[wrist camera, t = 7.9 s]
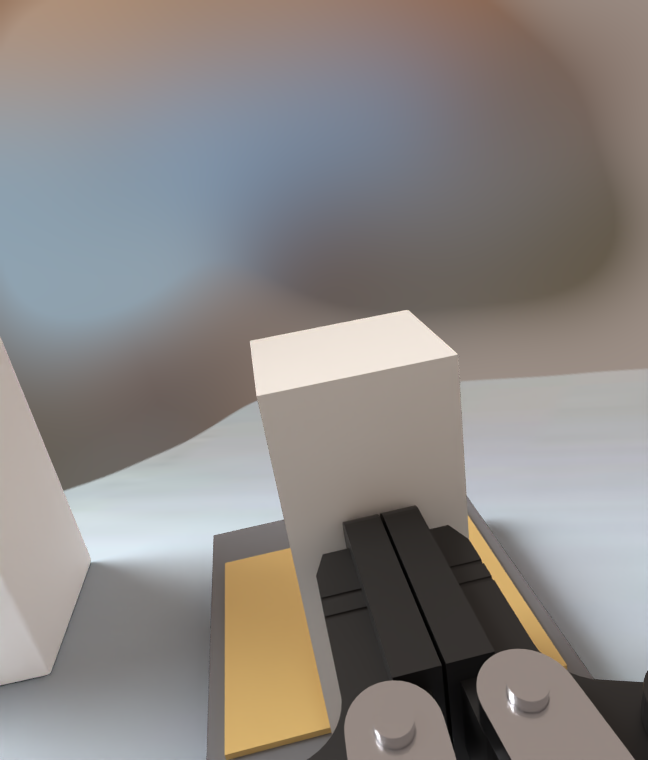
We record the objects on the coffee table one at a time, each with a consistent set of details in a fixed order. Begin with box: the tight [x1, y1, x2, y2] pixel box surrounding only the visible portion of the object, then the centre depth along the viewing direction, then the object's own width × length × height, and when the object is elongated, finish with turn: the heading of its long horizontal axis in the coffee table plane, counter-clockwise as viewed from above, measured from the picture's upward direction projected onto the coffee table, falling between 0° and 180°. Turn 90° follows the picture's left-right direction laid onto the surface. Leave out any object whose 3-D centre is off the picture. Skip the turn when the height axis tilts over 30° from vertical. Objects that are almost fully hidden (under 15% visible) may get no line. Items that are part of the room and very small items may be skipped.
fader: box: [250, 310, 469, 734], centre depth 13 cm, size 4×3×9 cm
